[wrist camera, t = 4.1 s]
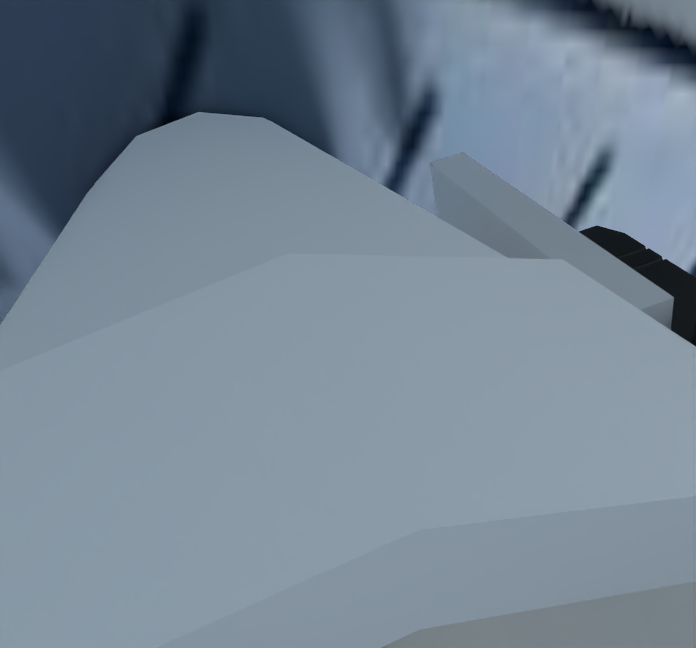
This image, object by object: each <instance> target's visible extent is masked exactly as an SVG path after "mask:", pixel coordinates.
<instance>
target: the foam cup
mask: <svg viewBox="0 0 696 648" xmlns="http://www.w3.org/2000/svg"><path fill="white" fill-rule="evenodd" d="M0 648H696V346H694V345H693V344H691V343H690V342H688V341H687V340H685V339H683V338H682V337H680V336H679V335H677V334H676V333H674V332H673V331H671V330H670V329H668V328H667V327H665V326H664V325H662V324H661V323H659V322H658V321H656V320H654V319H653V318H651V317H650V316H648V315H647V314H645V313H644V312H642V311H641V310H639V309H638V308H636V307H635V306H633V305H632V304H630V303H629V302H627V301H625V300H624V299H622V298H621V297H619V296H618V295H616V294H615V293H613V292H612V291H610V290H609V289H607V288H606V287H604V286H603V285H601V284H600V283H598V282H596V281H595V280H593V279H592V278H590V277H589V276H587V275H586V274H584V273H583V272H581V271H580V270H578V269H577V268H575V267H574V266H572V265H571V264H569V263H567V262H566V261H564V260H563V259H520V258H507V257H506V256H504V255H502V254H500V253H499V252H497V251H495V250H493V249H492V248H490V247H488V246H487V245H485V244H483V243H481V242H480V241H478V240H476V239H474V238H473V237H471V236H469V235H467V234H466V233H464V232H462V231H461V230H459V229H457V228H455V227H454V226H452V225H450V224H448V223H447V222H445V221H443V220H441V219H440V218H438V217H436V216H435V215H433V214H431V213H429V212H428V211H426V210H424V209H422V208H421V207H419V206H417V205H415V204H414V203H412V202H410V201H409V200H407V199H405V198H403V197H402V196H400V195H398V194H396V193H395V192H393V191H391V190H390V189H388V188H386V187H384V186H383V185H381V184H379V183H377V182H376V181H374V180H372V179H370V178H369V177H367V176H365V175H364V174H362V173H360V172H358V171H357V170H355V169H353V168H351V167H350V166H348V165H346V164H344V163H343V162H341V161H339V160H338V159H336V158H334V157H332V156H331V155H329V154H327V153H325V152H324V151H322V150H320V149H319V148H317V147H315V146H313V145H312V144H310V143H308V142H306V141H305V140H303V139H301V138H299V137H298V136H296V135H294V134H293V133H291V132H289V131H287V130H286V129H284V128H282V127H280V126H279V125H277V124H275V123H273V122H272V121H268V120H267V119H265V118H261V117H249V116H238V115H226V114H215V113H204V112H197V113H195V114H192V115H190V116H187V117H184V118H182V119H179V120H177V121H174V122H171V123H169V124H166V125H164V126H161V127H159V128H156V129H153V130H151V131H148V132H146V133H143V134H140V135H138V136H136V137H135V138H134V139H133V140H132V142H131V143H130V144H129V145H128V146H127V147H126V148H125V150H124V151H123V152H122V153H121V154H120V155H119V156H118V157H117V159H116V160H115V161H114V162H113V163H112V164H111V165H110V167H109V168H108V169H107V170H106V171H105V172H104V173H103V175H102V176H101V177H100V178H99V179H98V180H97V181H96V183H95V184H94V186H93V187H92V188H91V189H90V190H89V191H88V193H87V194H86V196H85V197H84V199H83V200H82V202H81V203H80V205H79V206H78V208H77V209H76V211H75V212H74V214H73V215H72V217H71V219H70V220H69V222H68V223H67V225H66V226H65V228H64V229H63V231H62V232H61V234H60V235H59V237H58V238H57V240H56V241H55V243H54V244H53V246H52V247H51V249H50V250H49V252H48V253H47V255H46V256H45V258H44V259H43V261H42V263H41V264H40V266H39V267H38V269H37V270H36V272H35V273H34V275H33V276H32V278H31V279H30V281H29V282H28V284H27V285H26V287H25V288H24V290H23V291H22V293H21V294H20V296H19V297H18V299H17V300H16V302H15V303H14V305H13V307H12V308H11V310H10V311H9V313H8V314H7V316H6V317H5V319H4V320H3V322H2V323H1V325H0Z"/></svg>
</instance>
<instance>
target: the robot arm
mask: <svg viewBox="0 0 696 648" xmlns="http://www.w3.org/2000/svg"><path fill="white" fill-rule="evenodd" d="M430 167H431V174H432V181H433V188H434V195H435V202H436V209H437V216H438V218H440V219H441V220H443V221H445V222H447V223H448V224H450V225H452V226H454V227H455V228H457V229H459V230H461V231H462V232H464V233H466V234H467V235H469V236H471V237H473V238H474V239H476V240H478V241H480V242H481V243H483V244H485V245H487V246H488V247H490V248H492V249H493V250H495V251H497V252H499V253H500V254H502V255H504V256H506V257H507V258H520V259H563V260H564V261H566V262H567V263H569V264H571V265H572V266H574V267H575V268H577V269H578V270H580V271H581V272H583V273H584V274H586V275H587V276H589V277H590V278H592V279H593V280H595V281H596V282H598V283H600V284H601V285H603V286H604V287H606V288H607V289H609V290H610V291H612V292H613V293H615V294H616V295H618V296H619V297H621V298H622V299H624V300H625V301H627V302H629V303H630V304H632V305H633V306H635V307H636V308H638V309H639V310H641V311H642V312H644V313H645V314H647V315H648V316H650V317H651V318H653V319H654V320H656V321H658V322H659V323H661V324H662V325H664V326H665V327H667V328H668V329H670V330H671V331H673V332H674V333H676V334H677V335H679V336H680V337H682V338H683V339H685V340H687V341H688V342H690V343H691V344H693V345H694V346H696V278H695V277H694V276H692V275H691V274H689V273H687V272H686V271H684V270H683V269H681V268H679V267H678V266H676V265H675V264H673V263H671V262H670V261H668V260H667V259H665V260H663V259H662V256H660V255H659V254H657V253H655V252H654V251H652V250H651V249H646V248H645V246H644V245H643V244H641V243H639V242H638V241H636V240H635V239H633V238H631V237H630V236H628V235H627V234H625V233H622V232H618V231H615V230H611V229H607V228H604V227H600V226H594V227H591V228H588V229H585V230H582V231H579V232H578V231H577V230H575V229H574V228H572V227H571V226H569V225H568V224H567V223H565V222H564V221H562V220H561V219H559V218H558V217H556V216H555V215H553V214H552V213H551V212H549V211H548V210H546V209H545V208H543V207H542V206H540V205H539V204H537V203H536V202H534V201H533V200H532V199H530V198H529V197H527V196H526V195H524V194H523V193H521V192H520V191H518V190H517V189H516V188H514V187H513V186H511V185H510V184H508V183H507V182H505V181H504V180H502V179H501V178H500V177H498V176H497V175H495V174H494V173H492V172H491V171H489V170H488V169H486V168H485V167H484V166H482V165H481V164H479V163H478V162H476V161H475V160H473V159H472V158H470V157H469V156H468V155H466V154H465V153H463V152H461V153H458V154H455V155H452V156H449V157H446V158H443V159H439V160H436V161H433V162H430Z"/></svg>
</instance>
